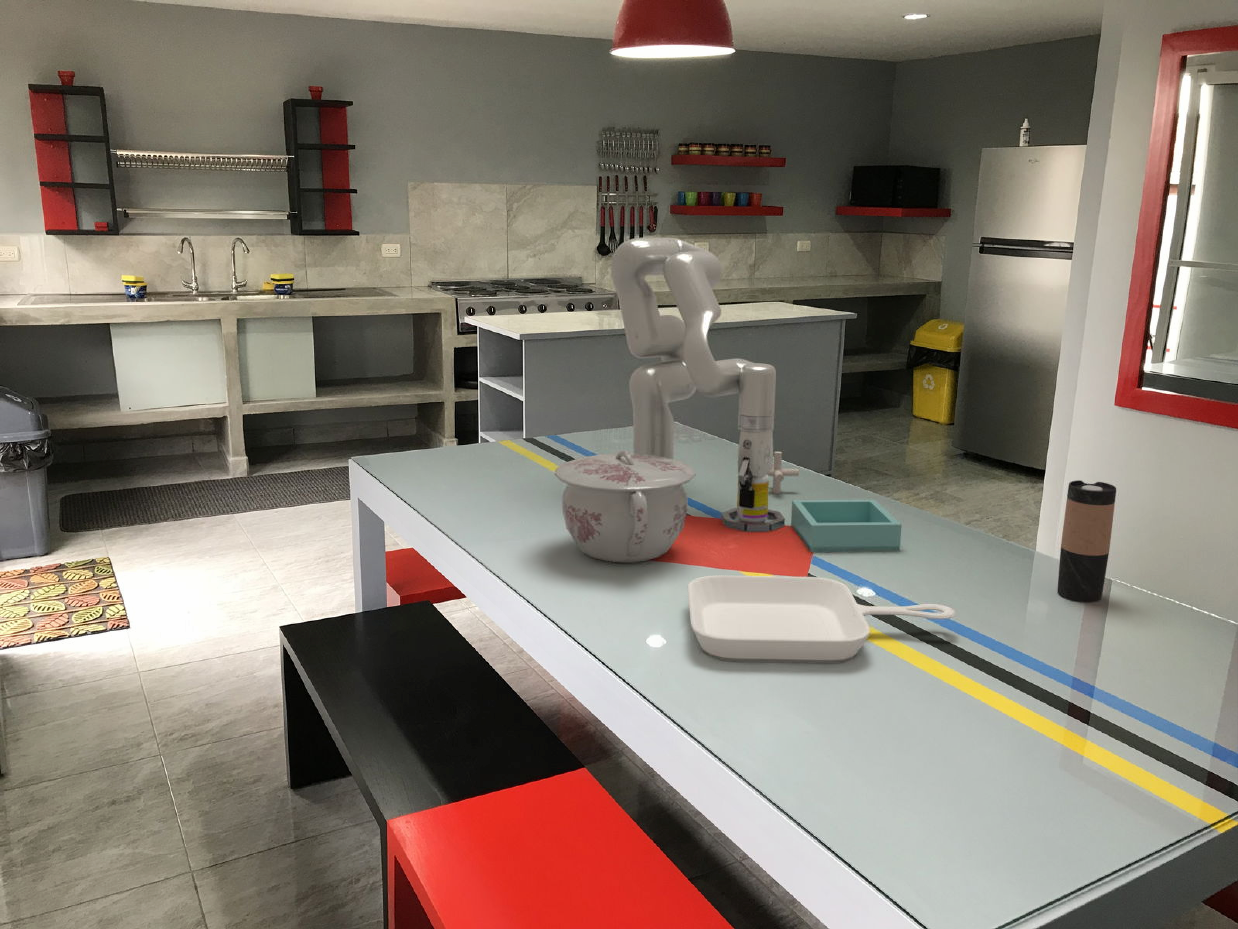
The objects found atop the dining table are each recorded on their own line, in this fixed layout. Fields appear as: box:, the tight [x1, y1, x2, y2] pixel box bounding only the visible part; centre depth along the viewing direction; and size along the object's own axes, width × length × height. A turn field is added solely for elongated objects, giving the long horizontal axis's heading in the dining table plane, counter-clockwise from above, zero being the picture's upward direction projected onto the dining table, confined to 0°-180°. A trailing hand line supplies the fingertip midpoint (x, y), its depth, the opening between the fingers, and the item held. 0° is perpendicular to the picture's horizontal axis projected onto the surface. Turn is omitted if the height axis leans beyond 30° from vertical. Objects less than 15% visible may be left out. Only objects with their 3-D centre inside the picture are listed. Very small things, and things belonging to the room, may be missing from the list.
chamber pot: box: [553, 449, 696, 564], centre depth 195 cm, size 28×28×21 cm
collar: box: [720, 507, 786, 533], centre depth 217 cm, size 13×13×2 cm
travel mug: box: [1057, 479, 1117, 604], centre depth 173 cm, size 8×8×20 cm
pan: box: [687, 575, 956, 664], centre depth 160 cm, size 27×42×5 cm, turn 88°
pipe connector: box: [767, 451, 800, 495], centre depth 240 cm, size 10×10×10 cm
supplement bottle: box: [736, 473, 770, 523], centre depth 216 cm, size 7×7×13 cm
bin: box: [790, 499, 903, 553], centre depth 207 cm, size 18×18×6 cm
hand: (752, 502), depth 216 cm, fingers closed on supplement bottle, 6 cm apart
